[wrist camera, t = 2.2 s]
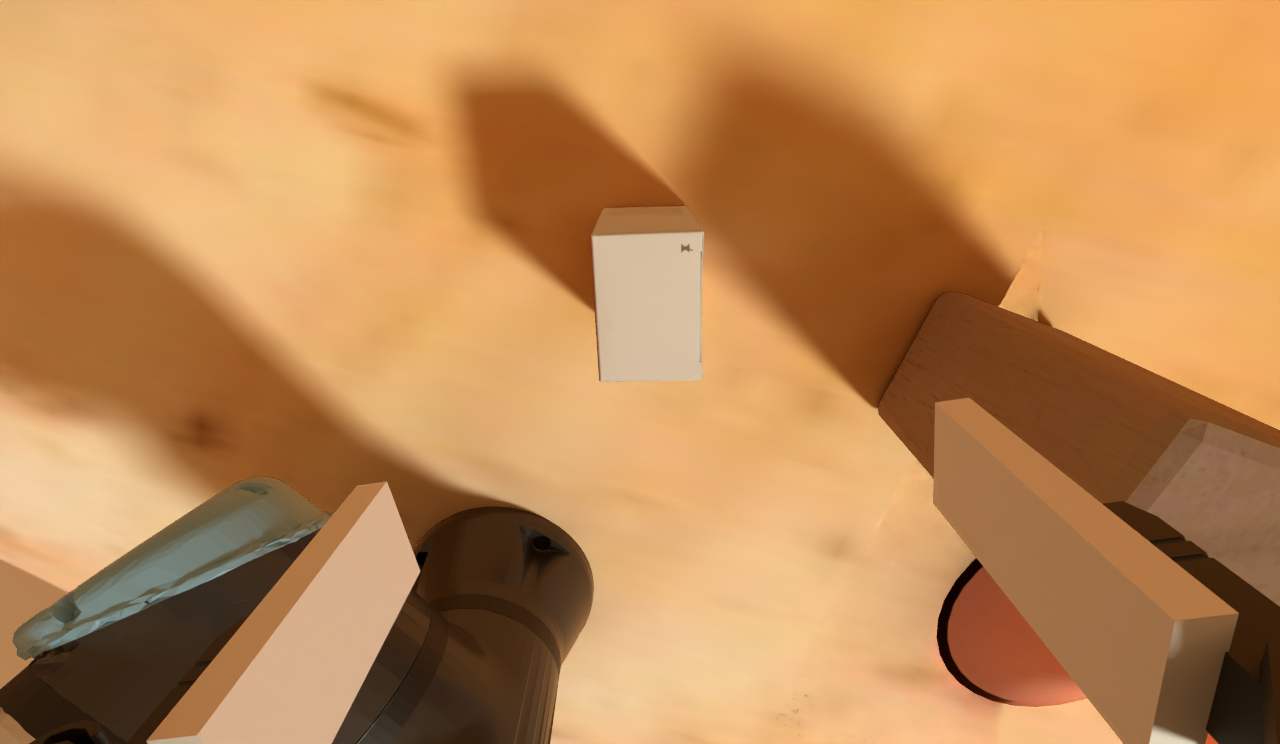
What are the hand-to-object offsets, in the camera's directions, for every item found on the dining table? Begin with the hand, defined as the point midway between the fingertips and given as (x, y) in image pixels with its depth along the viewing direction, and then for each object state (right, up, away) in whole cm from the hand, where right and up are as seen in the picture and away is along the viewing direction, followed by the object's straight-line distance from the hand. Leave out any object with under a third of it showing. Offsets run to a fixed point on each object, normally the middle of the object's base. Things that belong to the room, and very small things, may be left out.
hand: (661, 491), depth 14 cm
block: (+22, +3, +28) cm, 36 cm away
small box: (0, +10, +25) cm, 27 cm away
